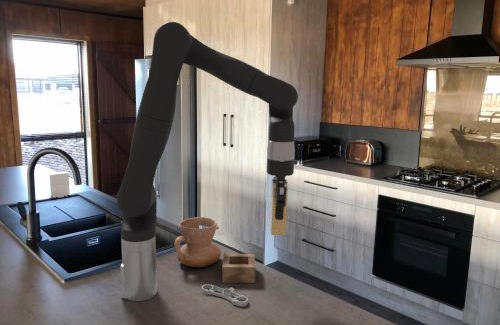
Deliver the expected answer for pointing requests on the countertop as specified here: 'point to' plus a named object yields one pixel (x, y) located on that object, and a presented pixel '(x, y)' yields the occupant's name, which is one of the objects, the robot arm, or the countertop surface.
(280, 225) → the tan wooden square peg
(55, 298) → the countertop surface
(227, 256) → the walnut block
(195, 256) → the ceramic jug
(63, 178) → the white rectangular block
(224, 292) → the bracket
